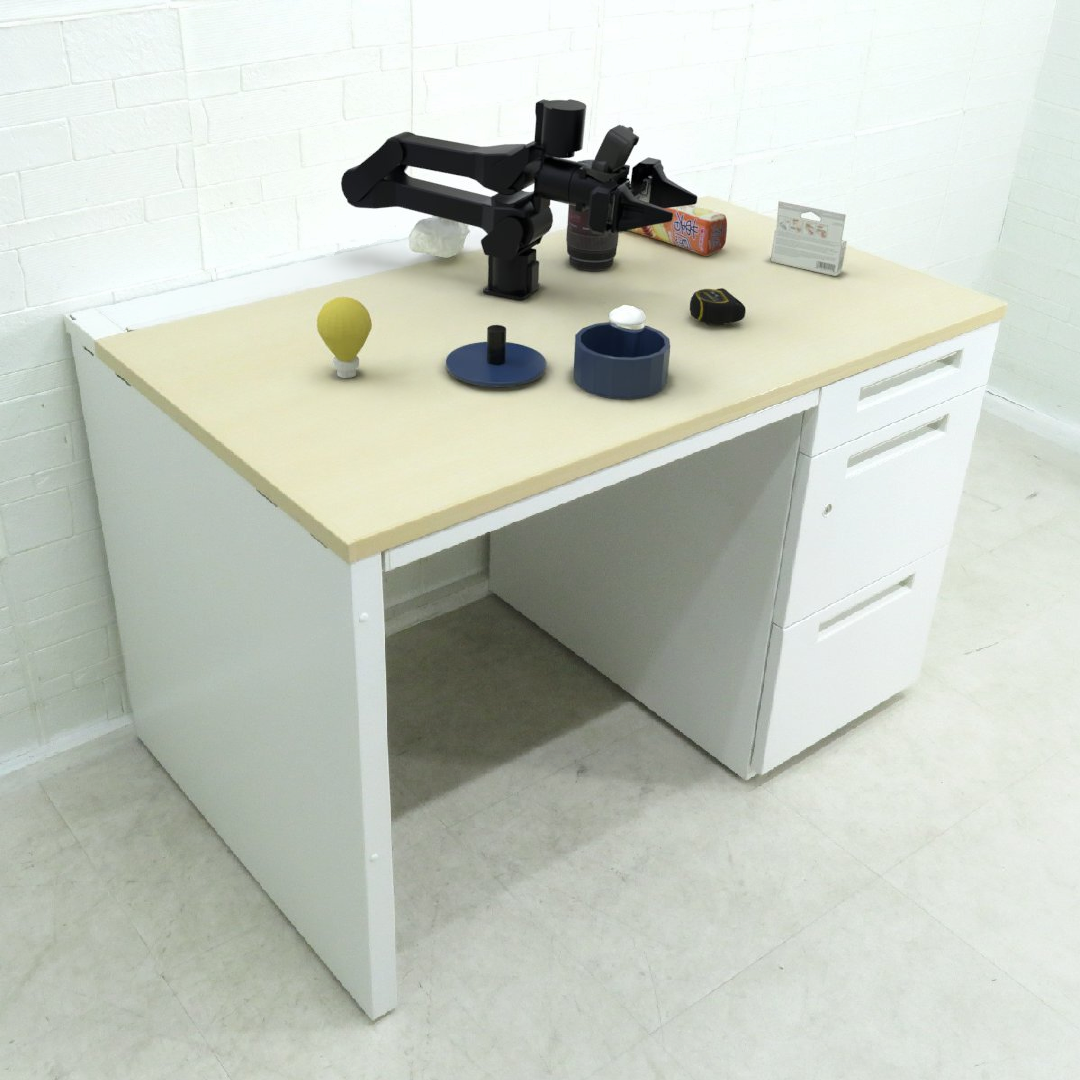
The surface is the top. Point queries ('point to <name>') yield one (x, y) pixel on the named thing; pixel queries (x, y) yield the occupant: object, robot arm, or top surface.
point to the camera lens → (588, 242)
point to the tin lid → (496, 361)
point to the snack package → (691, 229)
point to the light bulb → (344, 332)
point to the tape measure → (716, 307)
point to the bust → (438, 237)
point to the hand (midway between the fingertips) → (684, 208)
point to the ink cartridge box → (809, 239)
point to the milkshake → (626, 331)
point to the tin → (620, 364)
